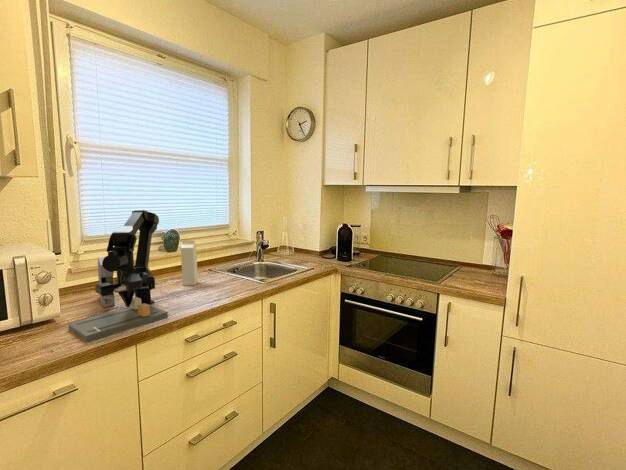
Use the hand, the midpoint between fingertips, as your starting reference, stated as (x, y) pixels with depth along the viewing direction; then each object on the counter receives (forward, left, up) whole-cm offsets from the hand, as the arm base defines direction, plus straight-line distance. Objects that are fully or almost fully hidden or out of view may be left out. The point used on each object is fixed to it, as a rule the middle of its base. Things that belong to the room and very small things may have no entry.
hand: (128, 306), depth 123 cm
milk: (-22, +39, -4) cm, 45 cm away
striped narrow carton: (-25, +2, -4) cm, 25 cm away
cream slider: (0, +3, -1) cm, 3 cm away
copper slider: (+10, +1, -1) cm, 10 cm away
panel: (+5, -5, -4) cm, 8 cm away
